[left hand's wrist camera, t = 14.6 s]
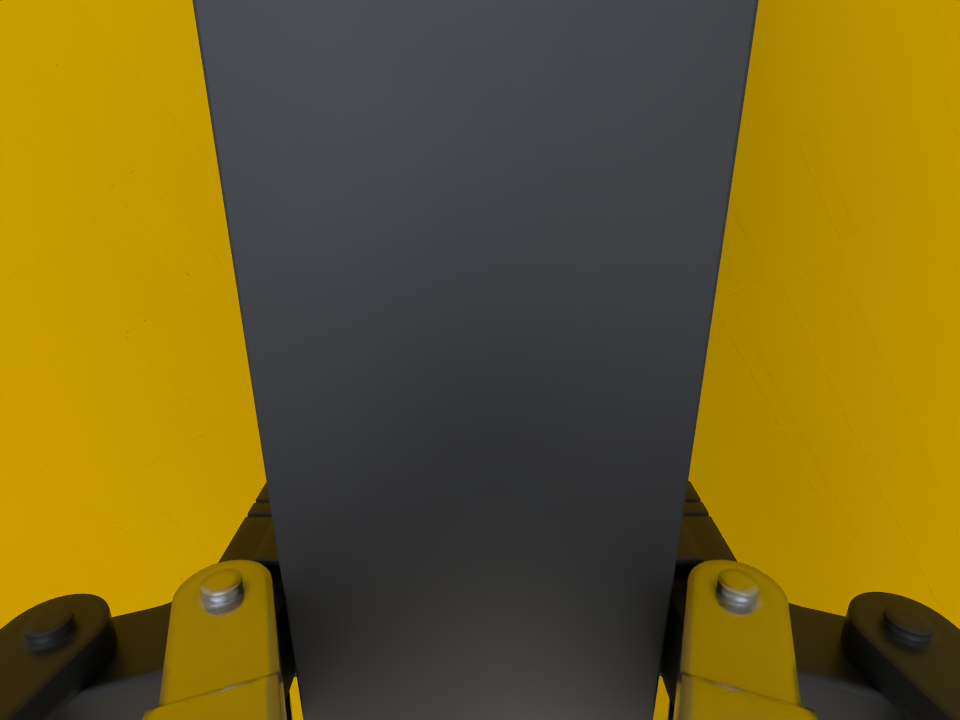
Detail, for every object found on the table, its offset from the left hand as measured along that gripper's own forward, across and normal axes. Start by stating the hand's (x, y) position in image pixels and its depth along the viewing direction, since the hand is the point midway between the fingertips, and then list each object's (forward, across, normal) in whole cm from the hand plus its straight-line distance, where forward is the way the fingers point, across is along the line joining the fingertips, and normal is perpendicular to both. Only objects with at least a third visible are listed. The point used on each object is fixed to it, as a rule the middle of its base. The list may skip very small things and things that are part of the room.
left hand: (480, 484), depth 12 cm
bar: (+4, 0, +10) cm, 11 cm away
